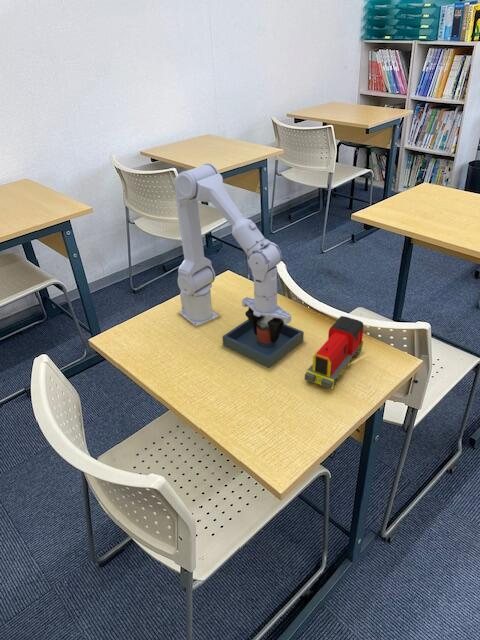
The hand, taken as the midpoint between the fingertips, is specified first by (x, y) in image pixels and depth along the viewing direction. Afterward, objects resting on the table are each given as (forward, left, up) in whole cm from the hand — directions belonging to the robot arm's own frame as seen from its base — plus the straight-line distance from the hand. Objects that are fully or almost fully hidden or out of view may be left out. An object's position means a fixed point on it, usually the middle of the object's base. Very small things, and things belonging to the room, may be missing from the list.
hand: (266, 336), depth 127 cm
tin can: (0, 0, -2) cm, 2 cm away
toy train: (+19, +6, -3) cm, 20 cm away
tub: (0, -1, -2) cm, 3 cm away
